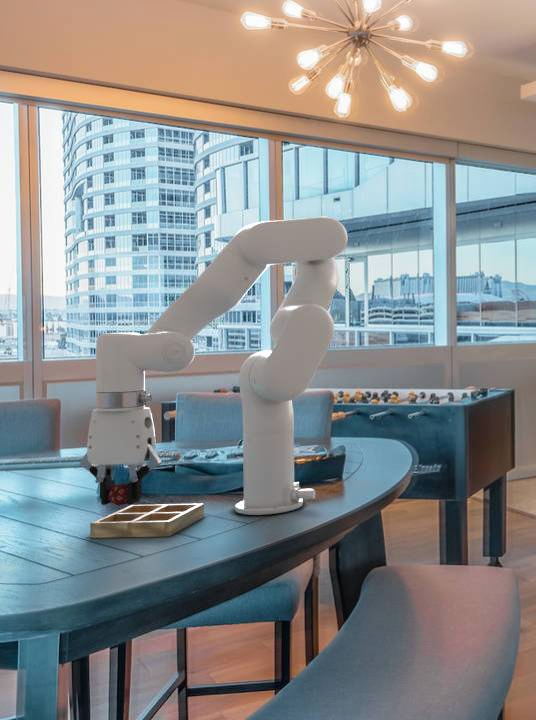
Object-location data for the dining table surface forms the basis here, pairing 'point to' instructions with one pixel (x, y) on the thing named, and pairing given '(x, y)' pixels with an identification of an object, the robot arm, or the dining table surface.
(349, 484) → the dining table surface
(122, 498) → the dice
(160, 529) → the wooden compartment tray
